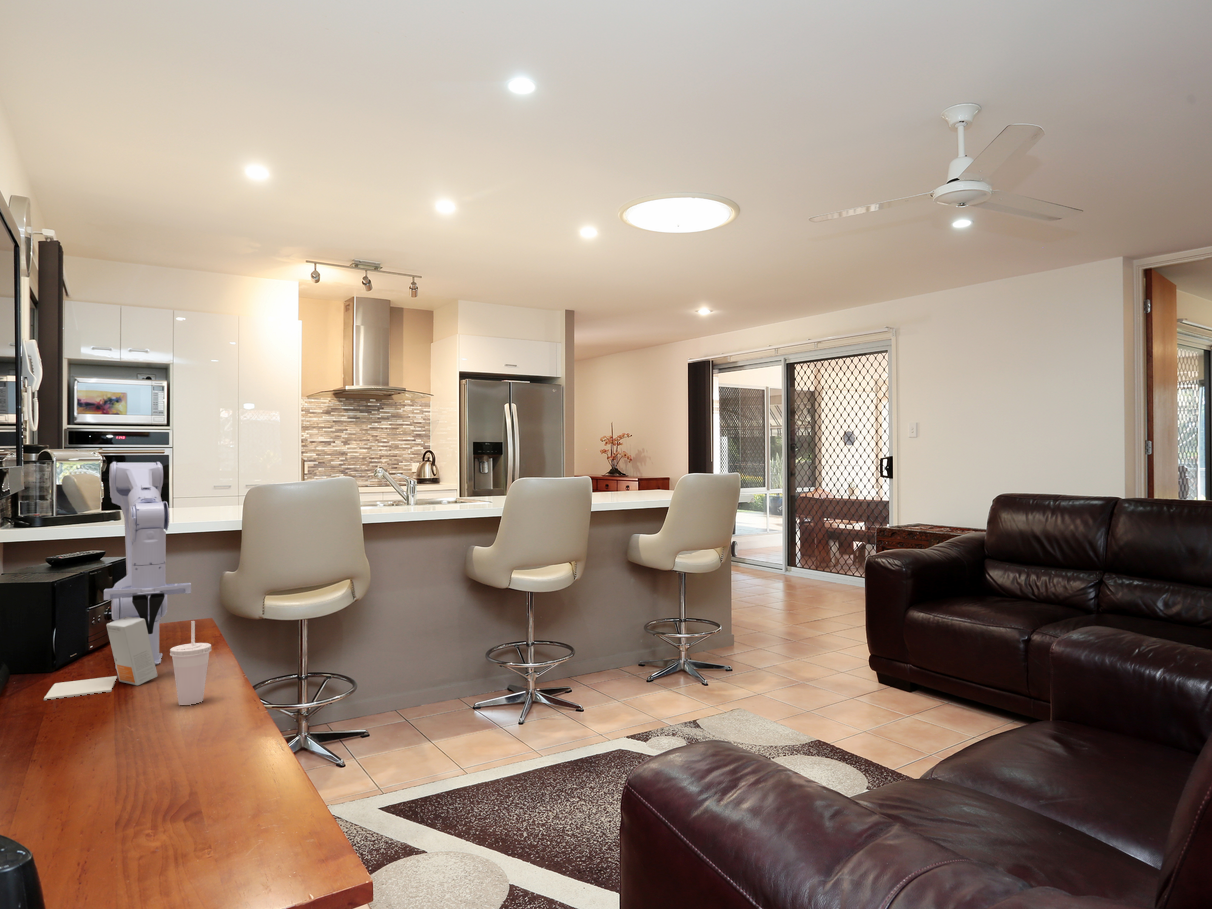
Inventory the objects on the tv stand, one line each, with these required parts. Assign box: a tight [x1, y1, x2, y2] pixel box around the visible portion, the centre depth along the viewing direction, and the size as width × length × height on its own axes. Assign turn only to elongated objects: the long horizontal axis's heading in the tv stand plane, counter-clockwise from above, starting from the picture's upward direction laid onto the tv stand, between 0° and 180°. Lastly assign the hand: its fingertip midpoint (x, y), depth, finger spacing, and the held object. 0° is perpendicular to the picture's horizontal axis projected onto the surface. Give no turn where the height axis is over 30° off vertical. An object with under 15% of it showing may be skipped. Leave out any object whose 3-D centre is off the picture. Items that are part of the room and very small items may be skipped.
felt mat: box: [43, 675, 118, 701], centre depth 139 cm, size 11×10×1 cm
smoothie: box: [169, 620, 212, 706], centre depth 129 cm, size 6×6×14 cm
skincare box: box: [106, 616, 158, 686], centre depth 142 cm, size 6×4×12 cm
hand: (148, 633), depth 145 cm, fingers closed
